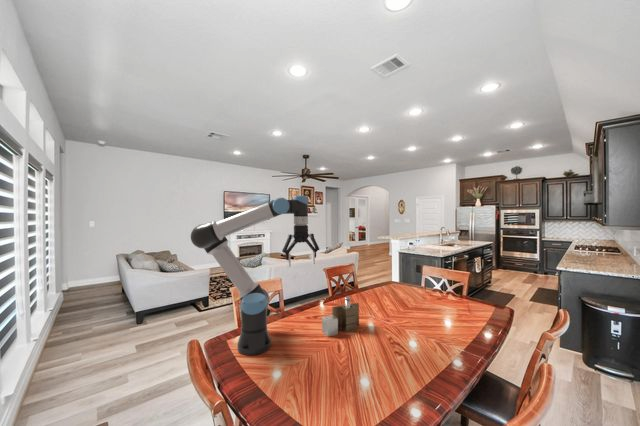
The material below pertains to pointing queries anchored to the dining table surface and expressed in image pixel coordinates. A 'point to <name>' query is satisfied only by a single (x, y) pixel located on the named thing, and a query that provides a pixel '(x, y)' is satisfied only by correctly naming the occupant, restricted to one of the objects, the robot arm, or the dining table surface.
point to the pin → (347, 302)
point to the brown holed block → (348, 312)
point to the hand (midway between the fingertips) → (301, 265)
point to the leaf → (335, 321)
